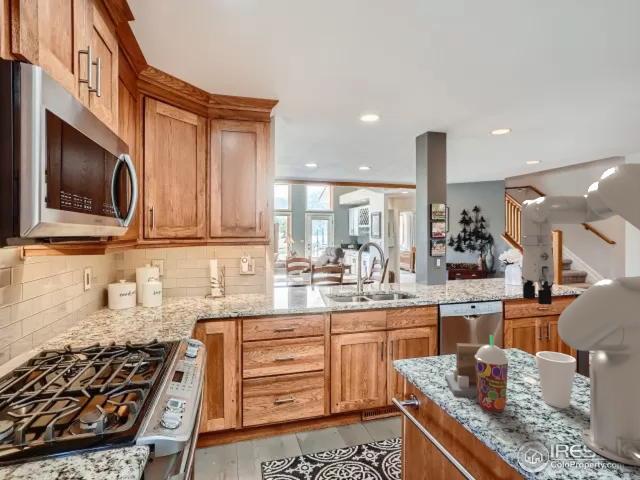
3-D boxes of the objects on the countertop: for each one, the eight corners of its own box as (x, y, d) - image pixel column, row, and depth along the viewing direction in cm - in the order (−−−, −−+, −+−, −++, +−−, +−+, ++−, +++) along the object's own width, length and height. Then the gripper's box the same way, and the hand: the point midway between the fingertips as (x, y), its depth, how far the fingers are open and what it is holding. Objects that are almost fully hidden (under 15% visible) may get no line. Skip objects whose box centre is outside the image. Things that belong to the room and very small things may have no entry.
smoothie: (489, 417, 91) (489, 340, 91) (468, 402, 99) (467, 332, 99) (516, 412, 94) (515, 338, 94) (492, 399, 102) (492, 330, 102)
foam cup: (568, 397, 103) (567, 352, 103) (582, 412, 94) (582, 363, 94) (531, 393, 105) (531, 350, 105) (542, 407, 96) (542, 360, 96)
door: (491, 387, 106) (490, 348, 106) (459, 386, 107) (459, 347, 107) (486, 382, 110) (486, 344, 110) (456, 380, 111) (456, 343, 111)
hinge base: (503, 397, 102) (503, 382, 102) (453, 395, 104) (453, 380, 104) (489, 381, 114) (489, 367, 114) (445, 379, 116) (445, 365, 116)
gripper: (566, 242, 93) (567, 307, 93) (536, 242, 110) (536, 296, 110) (536, 242, 94) (536, 306, 94) (510, 242, 111) (511, 296, 111)
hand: (536, 301), depth 102 cm, fingers open, 9 cm apart
